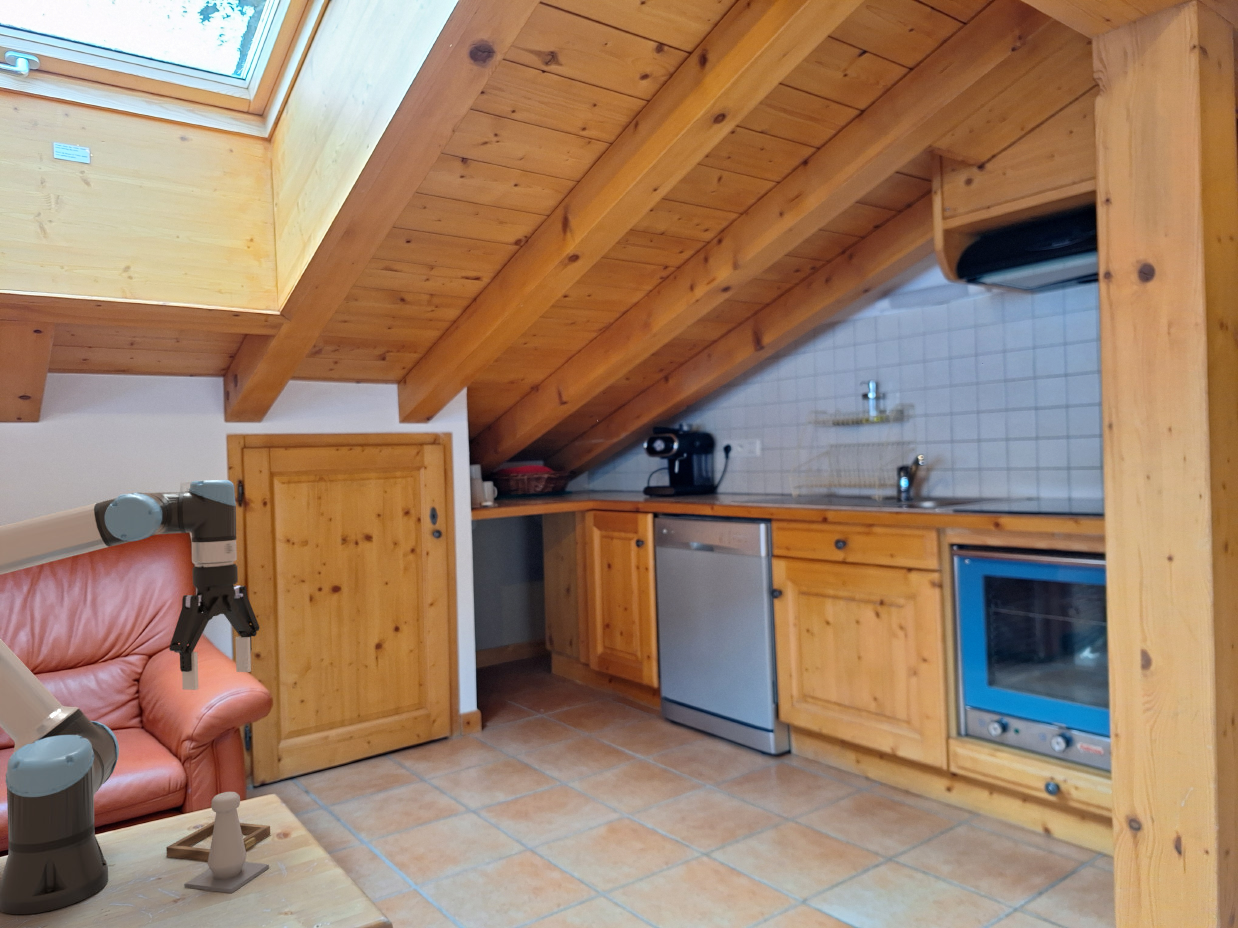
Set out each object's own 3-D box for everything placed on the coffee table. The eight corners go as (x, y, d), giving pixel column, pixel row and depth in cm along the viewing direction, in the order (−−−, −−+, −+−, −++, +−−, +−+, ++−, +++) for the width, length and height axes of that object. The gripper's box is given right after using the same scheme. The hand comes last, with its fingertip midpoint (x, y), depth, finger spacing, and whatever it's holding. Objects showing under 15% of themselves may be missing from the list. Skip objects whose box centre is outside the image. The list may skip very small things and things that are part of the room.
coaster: (184, 887, 142) (184, 883, 142) (224, 862, 151) (224, 859, 151) (231, 892, 139) (231, 888, 139) (268, 867, 148) (268, 864, 148)
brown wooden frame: (166, 856, 154) (166, 847, 154) (215, 828, 165) (215, 820, 165) (227, 862, 150) (226, 853, 150) (273, 834, 162) (272, 825, 162)
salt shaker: (233, 882, 142) (230, 801, 142) (200, 880, 143) (198, 800, 143) (253, 866, 147) (251, 788, 148) (222, 864, 148) (220, 787, 148)
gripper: (180, 572, 149) (183, 698, 149) (276, 556, 173) (279, 665, 173) (144, 572, 151) (147, 696, 151) (244, 557, 175) (247, 664, 175)
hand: (218, 680), depth 162 cm, fingers open, 13 cm apart
